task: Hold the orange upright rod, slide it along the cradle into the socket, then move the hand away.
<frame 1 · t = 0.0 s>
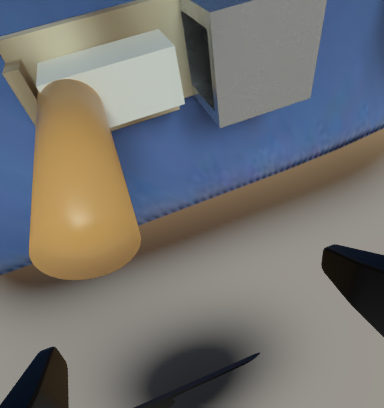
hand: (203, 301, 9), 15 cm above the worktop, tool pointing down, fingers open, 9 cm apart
socket: (226, 33, 19), on the worktop
cradle: (68, 79, 18), on the worktop
orange upright rod: (122, 126, 13), point 7 cm above the worktop, slide at 0.0 cm
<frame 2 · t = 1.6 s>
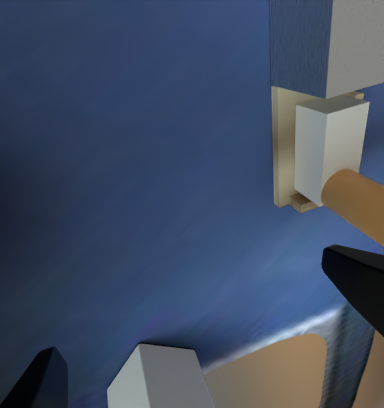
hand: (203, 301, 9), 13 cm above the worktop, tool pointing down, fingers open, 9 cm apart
socket: (310, 26, 19), on the worktop
milk carton: (151, 365, 32), on the worktop
cradle: (304, 168, 25), on the worktop
orange upright rod: (379, 179, 18), point 7 cm above the worktop, slide at 0.0 cm
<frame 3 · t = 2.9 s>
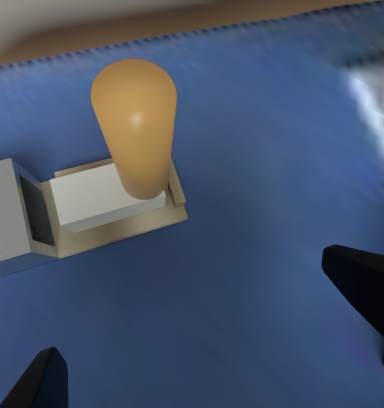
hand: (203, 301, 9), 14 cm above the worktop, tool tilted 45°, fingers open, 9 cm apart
socket: (11, 232, 22), on the worktop
cradle: (147, 194, 24), on the worktop
orange upright rod: (105, 169, 17), point 7 cm above the worktop, slide at 0.0 cm
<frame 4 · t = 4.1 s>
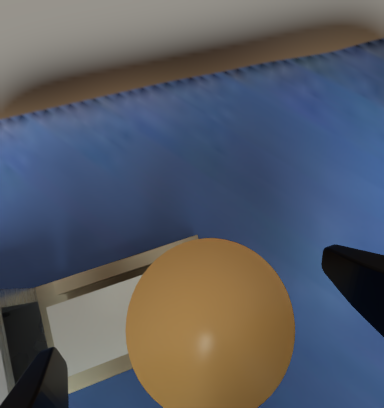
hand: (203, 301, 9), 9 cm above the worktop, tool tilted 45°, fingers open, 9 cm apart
cradle: (173, 293, 18), on the worktop
orange upright rod: (129, 321, 11), point 7 cm above the worktop, slide at 0.0 cm
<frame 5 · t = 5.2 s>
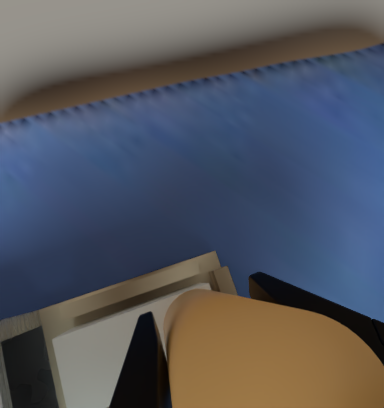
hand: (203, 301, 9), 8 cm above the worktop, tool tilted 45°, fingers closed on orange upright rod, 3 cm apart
cradle: (189, 315, 17), on the worktop
orange upright rod: (149, 365, 9), point 7 cm above the worktop, slide at 0.0 cm, touching gripper
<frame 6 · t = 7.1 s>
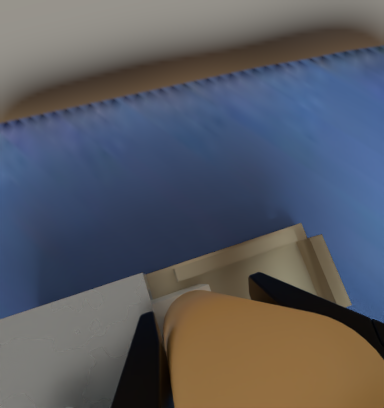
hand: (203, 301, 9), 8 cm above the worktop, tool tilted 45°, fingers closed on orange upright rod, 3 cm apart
socket: (107, 346, 16), on the worktop
cradle: (278, 283, 18), on the worktop
orange upright rod: (149, 367, 9), point 7 cm above the worktop, slide at 5.8 cm, touching gripper
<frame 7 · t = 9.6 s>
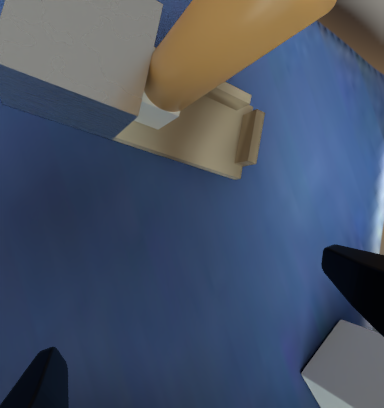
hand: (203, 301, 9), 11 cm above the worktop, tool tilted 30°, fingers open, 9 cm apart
socket: (73, 77, 18), on the worktop
milk carton: (331, 368, 29), on the worktop
cradle: (215, 134, 23), on the worktop
orange upright rod: (151, 35, 13), point 7 cm above the worktop, slide at 5.9 cm
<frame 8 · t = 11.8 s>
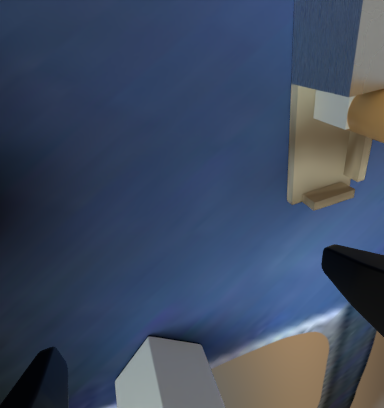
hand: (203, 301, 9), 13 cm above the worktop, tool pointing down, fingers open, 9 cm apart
socket: (331, 27, 20), on the worktop
milk carton: (158, 359, 32), on the worktop
cradle: (317, 167, 25), on the worktop
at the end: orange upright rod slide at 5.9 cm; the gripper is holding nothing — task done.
